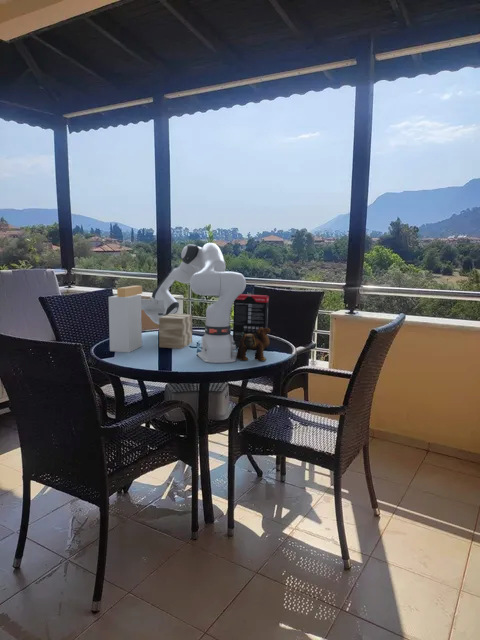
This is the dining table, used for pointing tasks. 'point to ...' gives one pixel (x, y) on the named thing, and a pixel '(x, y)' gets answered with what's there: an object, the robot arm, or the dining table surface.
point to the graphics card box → (249, 315)
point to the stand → (125, 323)
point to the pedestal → (175, 330)
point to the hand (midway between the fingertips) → (142, 298)
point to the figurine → (253, 344)
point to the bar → (129, 291)
